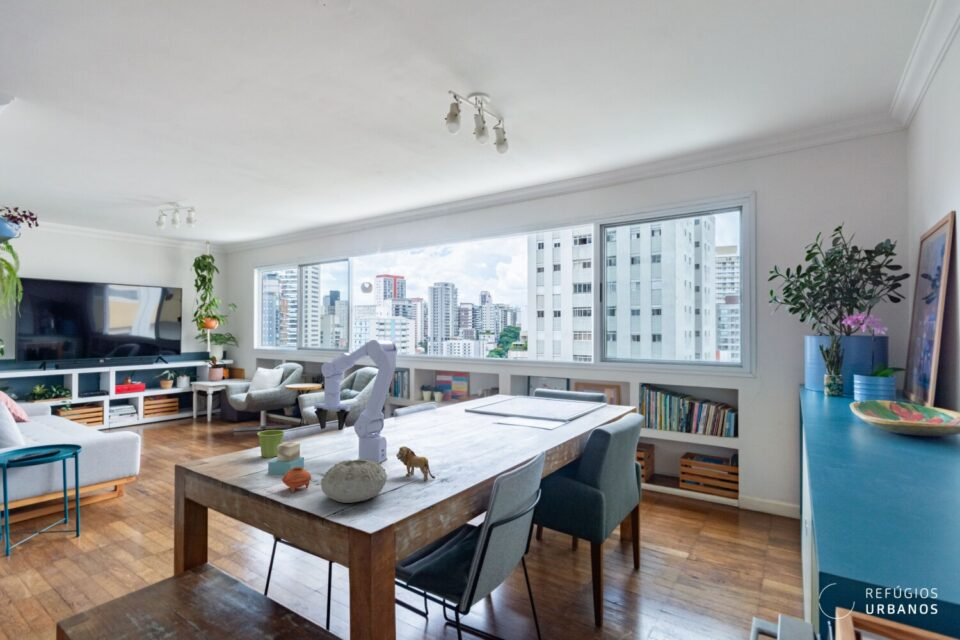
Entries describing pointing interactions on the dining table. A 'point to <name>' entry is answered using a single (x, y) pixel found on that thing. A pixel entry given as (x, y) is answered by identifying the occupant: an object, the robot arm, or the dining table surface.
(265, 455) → the plant pot
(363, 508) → the dining table surface
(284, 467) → the teal base block
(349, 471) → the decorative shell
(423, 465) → the lion figurine
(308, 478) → the pot
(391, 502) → the dining table surface
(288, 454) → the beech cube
